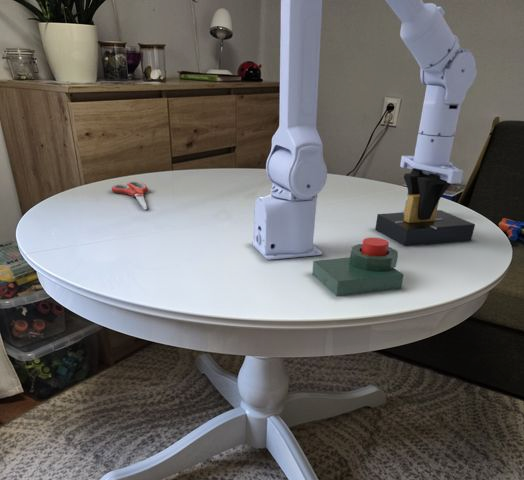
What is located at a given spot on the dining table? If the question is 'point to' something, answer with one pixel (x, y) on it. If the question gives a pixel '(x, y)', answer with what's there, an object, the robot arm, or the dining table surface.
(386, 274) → the button box
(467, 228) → the dark gray flat block
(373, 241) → the button
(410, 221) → the tan wooden brick
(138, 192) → the scissors
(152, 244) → the dining table surface
